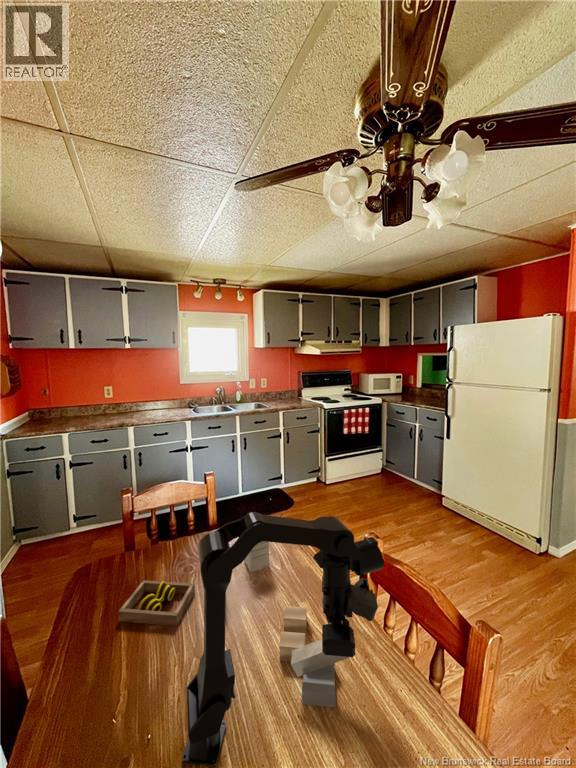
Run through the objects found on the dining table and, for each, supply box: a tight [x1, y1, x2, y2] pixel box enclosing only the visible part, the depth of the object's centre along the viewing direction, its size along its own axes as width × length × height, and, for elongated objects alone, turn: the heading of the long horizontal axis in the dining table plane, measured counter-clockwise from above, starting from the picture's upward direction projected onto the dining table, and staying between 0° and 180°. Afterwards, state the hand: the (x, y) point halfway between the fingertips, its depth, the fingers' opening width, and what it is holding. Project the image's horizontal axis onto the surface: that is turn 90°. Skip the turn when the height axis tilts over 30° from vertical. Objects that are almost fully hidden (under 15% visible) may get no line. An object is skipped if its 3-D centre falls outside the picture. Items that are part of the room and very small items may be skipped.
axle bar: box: [290, 638, 350, 678], centre depth 67 cm, size 13×3×3 cm, turn 84°
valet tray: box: [118, 579, 196, 627], centre depth 91 cm, size 12×17×3 cm
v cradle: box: [301, 663, 337, 708], centre depth 68 cm, size 8×7×3 cm
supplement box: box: [243, 541, 270, 573], centre depth 108 cm, size 7×7×13 cm
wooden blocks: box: [278, 605, 308, 663], centre depth 79 cm, size 12×6×4 cm, turn 174°
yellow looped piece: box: [138, 580, 175, 611], centre depth 90 cm, size 10×5×5 cm, turn 159°
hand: (336, 645), depth 67 cm, fingers closed on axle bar, 3 cm apart
